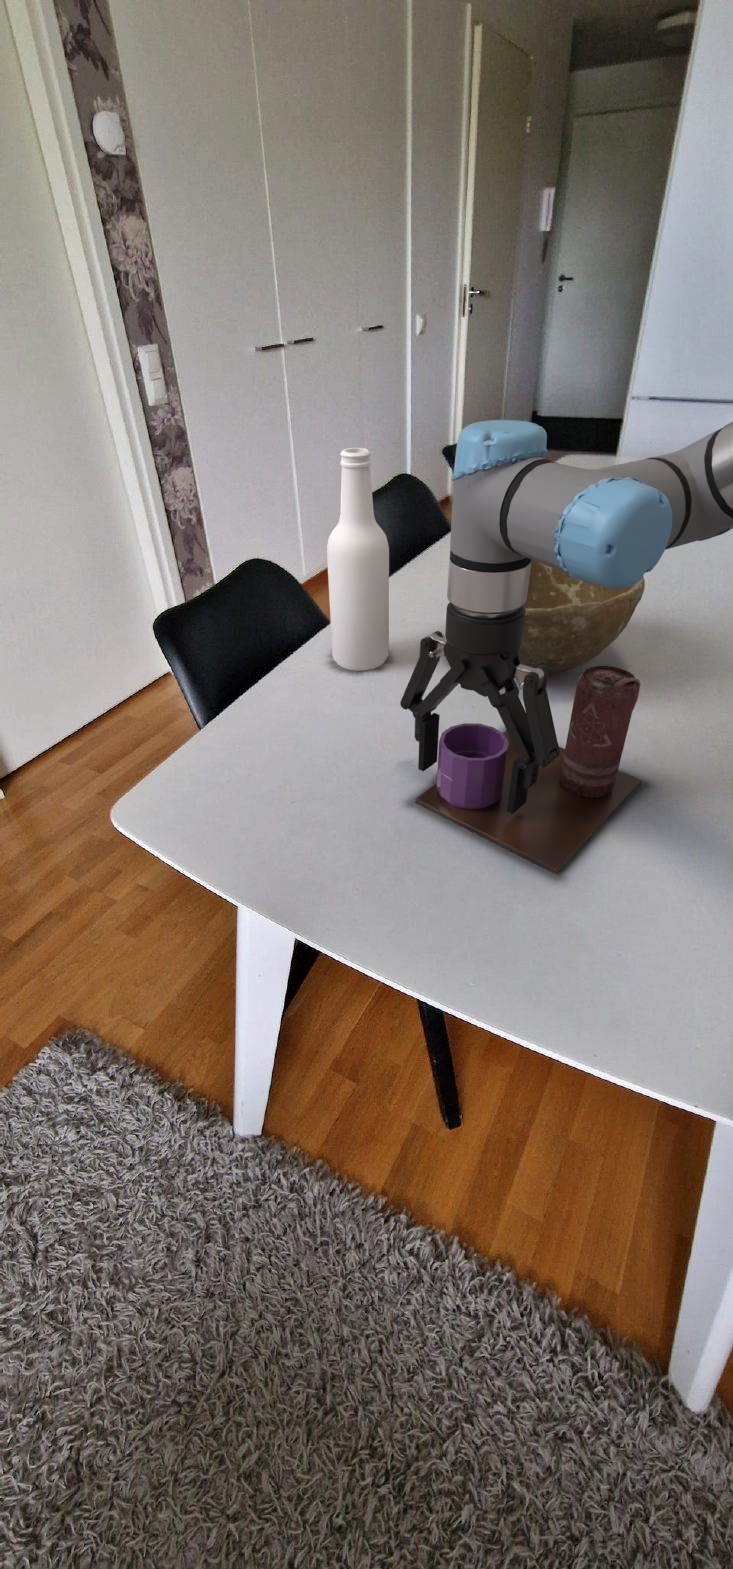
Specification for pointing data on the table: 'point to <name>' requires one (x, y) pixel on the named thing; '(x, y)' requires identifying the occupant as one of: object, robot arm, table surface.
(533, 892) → the table surface
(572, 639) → the bowl
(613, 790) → the placemat
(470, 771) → the purple faceted cup
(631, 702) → the can
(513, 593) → the robot arm
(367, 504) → the alcohol
